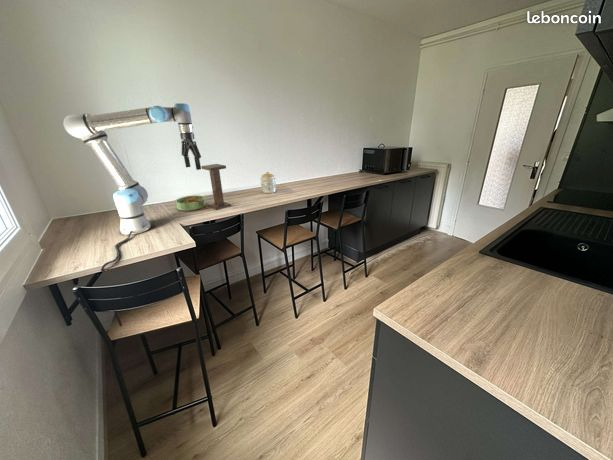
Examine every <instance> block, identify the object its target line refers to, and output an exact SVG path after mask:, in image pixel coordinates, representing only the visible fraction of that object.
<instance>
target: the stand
mask: <svg viewBox="0 0 613 460" xmlns="http://www.w3.org/2000/svg"><path fill="white" fill-rule="evenodd" d="M226 169H227V165H224V164H219V163H213V164H205V165H201V170H204V171H209V178H210V184H211V189H212V196H213V201H214V202H212V203H209V204H207V207H209V208H211V209H213V210H216V211H218V210H221V209H225V208H229V207H232V204H231V203H229V202H226V201H225V199H224V193H223V185H222V178H221V173H220V170H226Z"/></svg>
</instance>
